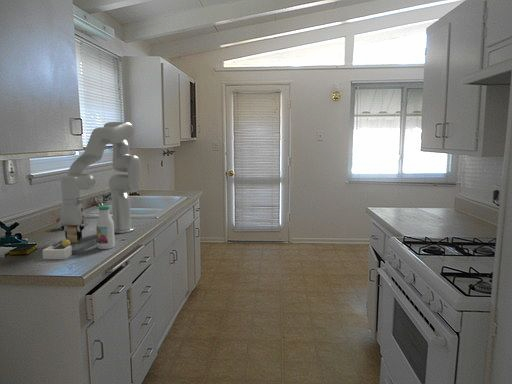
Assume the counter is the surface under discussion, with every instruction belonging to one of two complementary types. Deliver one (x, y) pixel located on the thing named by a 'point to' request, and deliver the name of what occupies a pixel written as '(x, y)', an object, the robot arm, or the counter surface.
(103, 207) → the milk bottle
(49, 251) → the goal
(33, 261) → the counter surface
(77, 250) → the deck
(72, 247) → the rails
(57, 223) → the cupcake
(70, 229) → the slider
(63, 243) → the ball
